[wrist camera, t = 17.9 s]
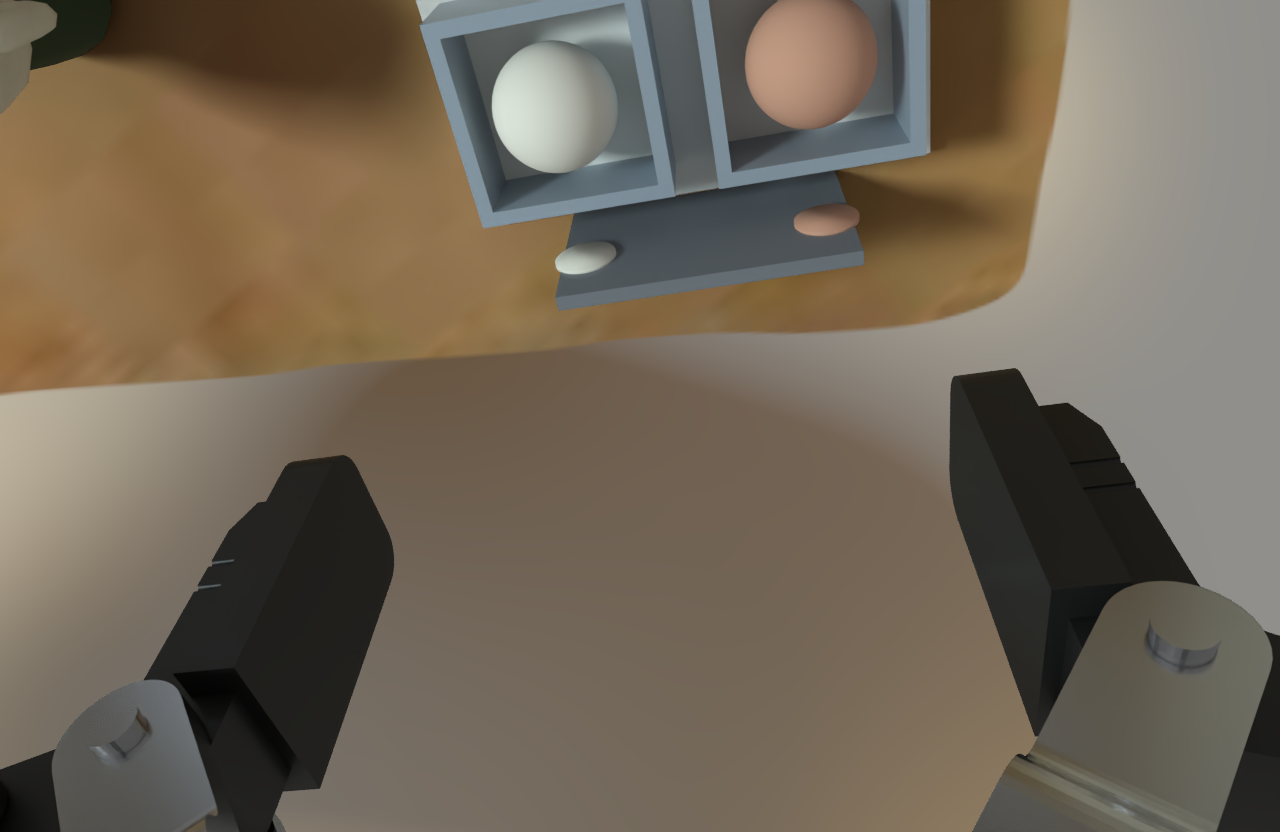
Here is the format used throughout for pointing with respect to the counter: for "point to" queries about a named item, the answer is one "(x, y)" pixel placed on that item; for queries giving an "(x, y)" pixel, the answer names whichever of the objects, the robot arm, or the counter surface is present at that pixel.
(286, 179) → the counter surface
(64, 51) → the character mug
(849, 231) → the card
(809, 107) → the terracotta ball
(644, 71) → the rack
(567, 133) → the cream ball
